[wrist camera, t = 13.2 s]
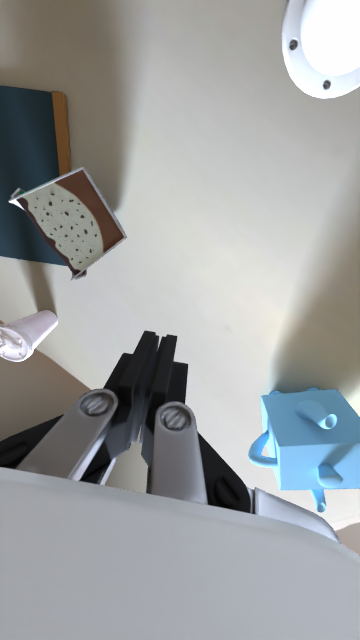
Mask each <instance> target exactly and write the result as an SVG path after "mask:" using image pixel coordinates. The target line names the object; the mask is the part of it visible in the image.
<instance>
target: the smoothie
mask: <svg viewBox="0 0 360 640" xmlns="http://www.w3.org/2000/svg"><path fill="white" fill-rule="evenodd" d="M57 323H58V319H57V317H56V315H55V314H54V313H53V312H51V311H49V310H43V311H40V312H38V313H35V314H32V315H30V316H27V317H25V318H22V319H19V320H17V321H14V322H11V323H9V324H1V325H0V356H2V357H3V358H5V359H7V360H10V361H17V362H18V361H23V360H25V359H26V358H28V357H29V356H30V355H31V354H32V353H33V349H34V348H35V347H36V346H37V345H38V344H39V343H40V342H41V341H42V340H43V339H44V338H45V337H46V336H47V335H48V334H49V332H50V331H51V330H52V329H53V328H54V327H55V326H56V325H57Z"/></svg>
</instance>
